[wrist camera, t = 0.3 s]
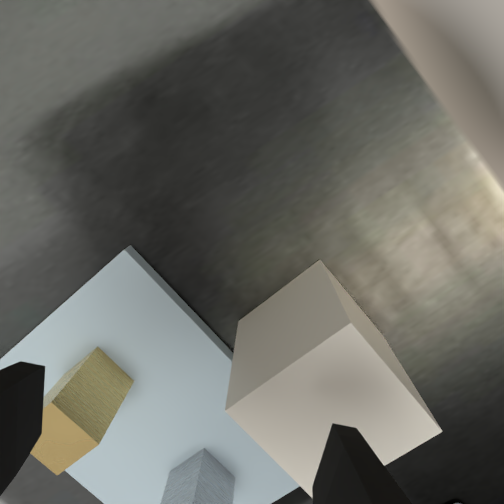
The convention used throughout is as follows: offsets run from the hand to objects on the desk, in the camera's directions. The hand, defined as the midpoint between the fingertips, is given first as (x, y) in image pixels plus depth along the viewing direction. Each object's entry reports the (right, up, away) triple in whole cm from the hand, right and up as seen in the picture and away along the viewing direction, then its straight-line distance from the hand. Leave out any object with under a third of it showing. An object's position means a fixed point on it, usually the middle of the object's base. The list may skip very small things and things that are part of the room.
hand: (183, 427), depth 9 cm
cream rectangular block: (+5, 0, +10) cm, 11 cm away
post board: (-4, -5, +11) cm, 13 cm away
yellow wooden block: (-6, -2, +11) cm, 13 cm away
